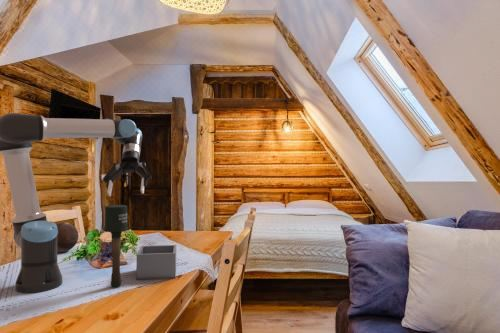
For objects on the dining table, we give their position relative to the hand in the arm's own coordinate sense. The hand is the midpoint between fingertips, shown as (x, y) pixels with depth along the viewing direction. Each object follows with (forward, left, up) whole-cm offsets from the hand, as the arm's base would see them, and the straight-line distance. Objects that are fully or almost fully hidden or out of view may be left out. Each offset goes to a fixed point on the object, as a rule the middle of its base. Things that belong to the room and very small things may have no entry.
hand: (125, 193), depth 150 cm
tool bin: (+13, -3, -33) cm, 36 cm away
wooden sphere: (-38, +42, -34) cm, 66 cm away
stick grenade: (-1, -17, -34) cm, 37 cm away
